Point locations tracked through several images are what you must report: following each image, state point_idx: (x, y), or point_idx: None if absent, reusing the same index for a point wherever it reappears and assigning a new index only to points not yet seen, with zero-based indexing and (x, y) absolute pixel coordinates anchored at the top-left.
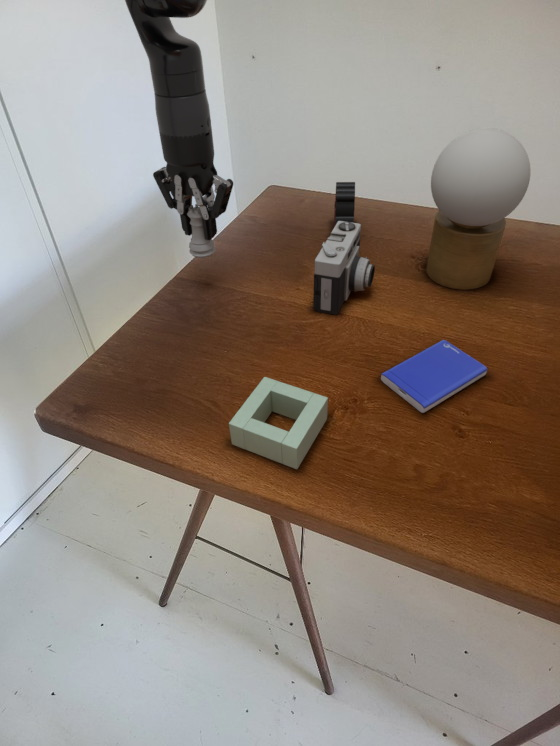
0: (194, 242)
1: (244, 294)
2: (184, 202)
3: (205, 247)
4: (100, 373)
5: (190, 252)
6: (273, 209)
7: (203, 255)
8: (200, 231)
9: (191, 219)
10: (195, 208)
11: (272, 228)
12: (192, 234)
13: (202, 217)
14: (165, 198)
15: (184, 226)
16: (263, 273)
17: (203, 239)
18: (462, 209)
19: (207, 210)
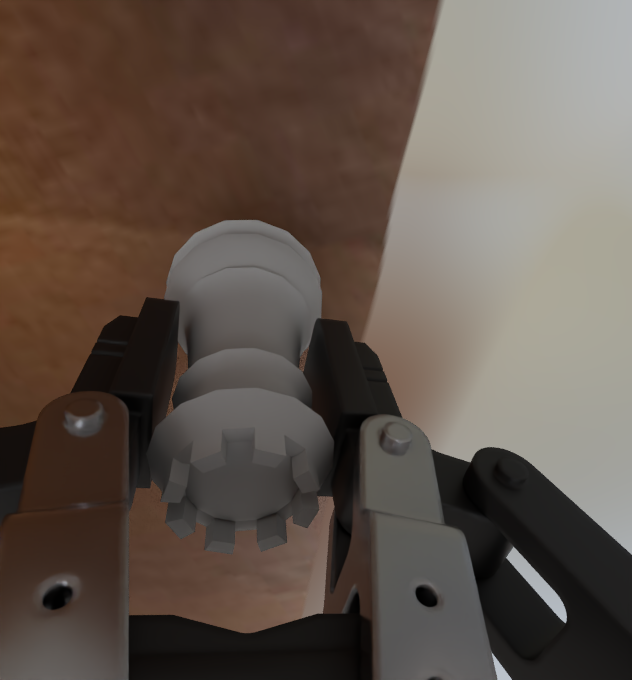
0: (261, 276)
1: (61, 200)
2: (356, 522)
3: (187, 269)
4: None
5: (299, 247)
6: (239, 628)
7: (205, 235)
8: (209, 335)
9: (276, 389)
10: (260, 498)
11: (195, 564)
12: (284, 319)
13: (164, 422)
14: (585, 526)
15: (350, 352)
16: (76, 355)
17: (200, 306)
18: None
19: (28, 474)
